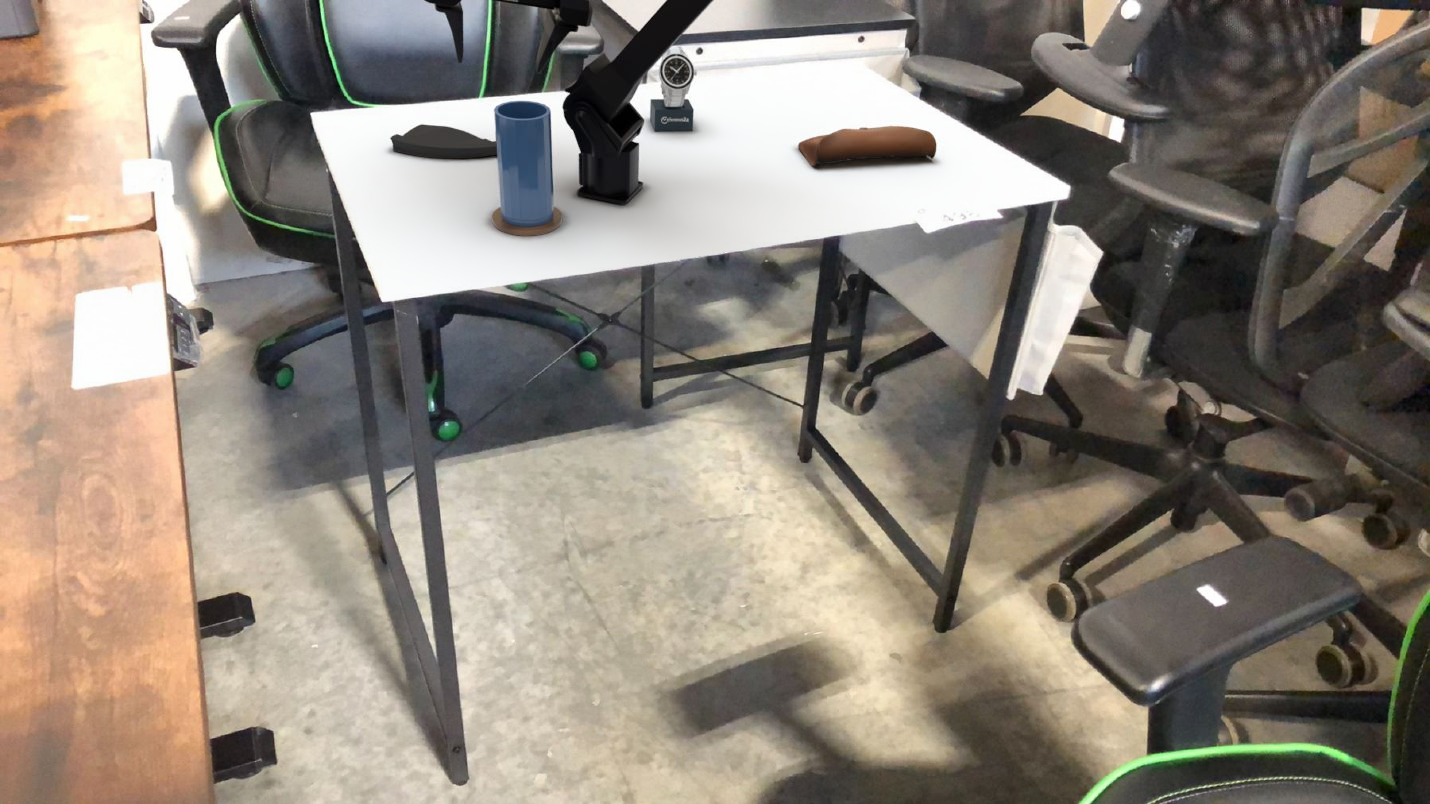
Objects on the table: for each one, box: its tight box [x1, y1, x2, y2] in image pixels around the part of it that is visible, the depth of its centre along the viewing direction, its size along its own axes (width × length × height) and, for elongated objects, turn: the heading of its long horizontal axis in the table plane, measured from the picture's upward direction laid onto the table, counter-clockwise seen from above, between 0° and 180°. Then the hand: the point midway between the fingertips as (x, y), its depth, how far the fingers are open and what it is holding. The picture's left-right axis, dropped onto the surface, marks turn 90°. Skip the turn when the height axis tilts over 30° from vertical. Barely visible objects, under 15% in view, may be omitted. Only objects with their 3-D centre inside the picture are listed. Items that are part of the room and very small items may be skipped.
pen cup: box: [493, 100, 555, 227], centre depth 111 cm, size 6×6×12 cm
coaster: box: [491, 206, 563, 237], centre depth 115 cm, size 8×8×1 cm
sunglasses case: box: [797, 125, 937, 167], centre depth 138 cm, size 18×7×7 cm
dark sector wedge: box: [389, 123, 497, 159], centre depth 131 cm, size 8×14×2 cm, turn 74°
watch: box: [649, 46, 698, 132], centre depth 140 cm, size 6×8×11 cm
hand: (499, 66), depth 118 cm, fingers open, 9 cm apart
